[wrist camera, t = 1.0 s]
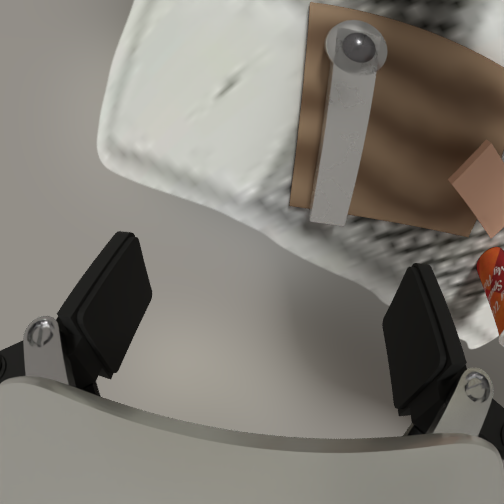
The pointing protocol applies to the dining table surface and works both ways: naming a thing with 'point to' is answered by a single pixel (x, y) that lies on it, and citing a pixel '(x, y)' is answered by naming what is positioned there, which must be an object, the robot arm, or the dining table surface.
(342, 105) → the link
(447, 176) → the board
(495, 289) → the paper cup
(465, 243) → the dining table surface
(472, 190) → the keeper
